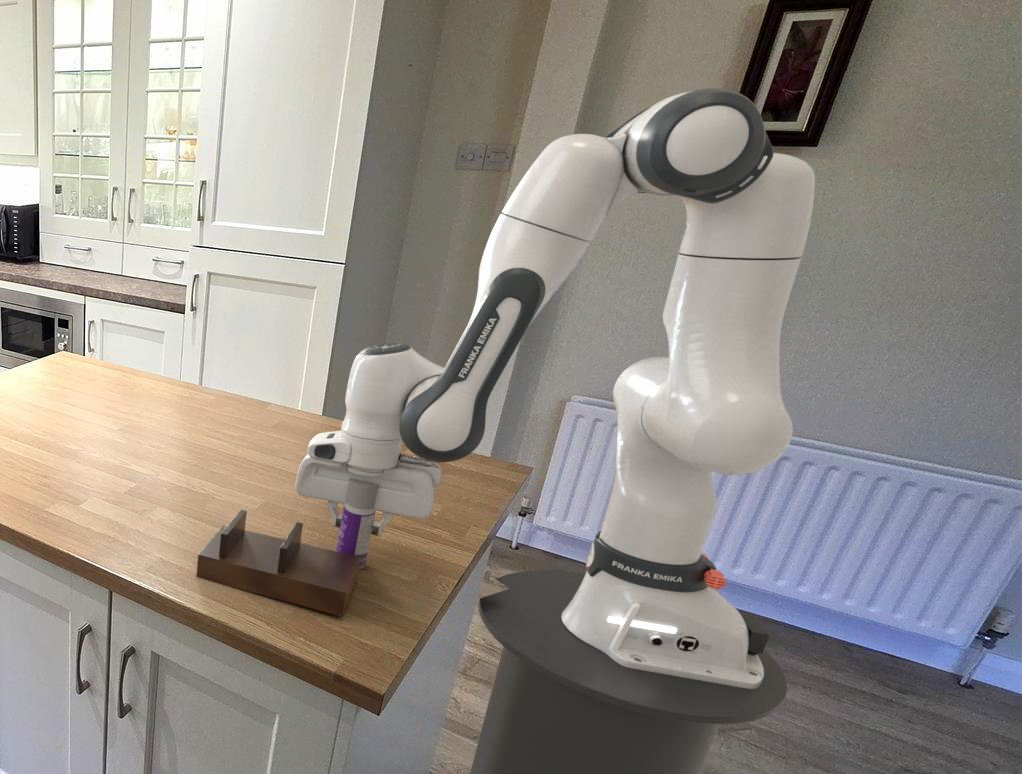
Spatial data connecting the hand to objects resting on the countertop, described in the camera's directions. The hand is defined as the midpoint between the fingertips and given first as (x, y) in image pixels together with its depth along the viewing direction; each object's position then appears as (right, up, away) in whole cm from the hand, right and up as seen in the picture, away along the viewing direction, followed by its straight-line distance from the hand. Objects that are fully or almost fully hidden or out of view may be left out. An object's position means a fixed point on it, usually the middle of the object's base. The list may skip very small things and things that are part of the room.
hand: (356, 530), depth 118 cm
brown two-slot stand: (-14, -7, -2) cm, 16 cm away
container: (0, -6, +2) cm, 6 cm away
